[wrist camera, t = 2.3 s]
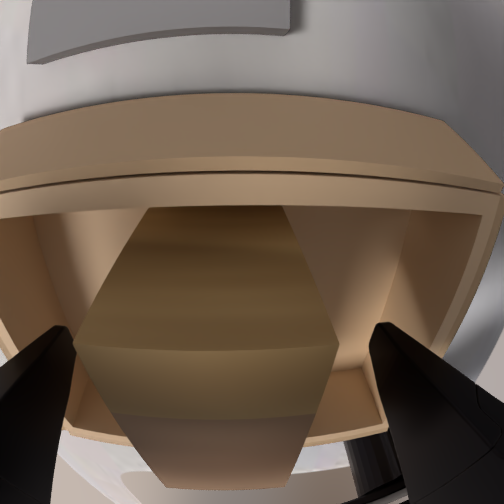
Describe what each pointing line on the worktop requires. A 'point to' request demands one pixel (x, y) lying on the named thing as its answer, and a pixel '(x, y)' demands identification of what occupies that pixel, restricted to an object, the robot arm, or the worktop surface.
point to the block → (211, 345)
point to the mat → (143, 22)
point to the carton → (251, 193)
